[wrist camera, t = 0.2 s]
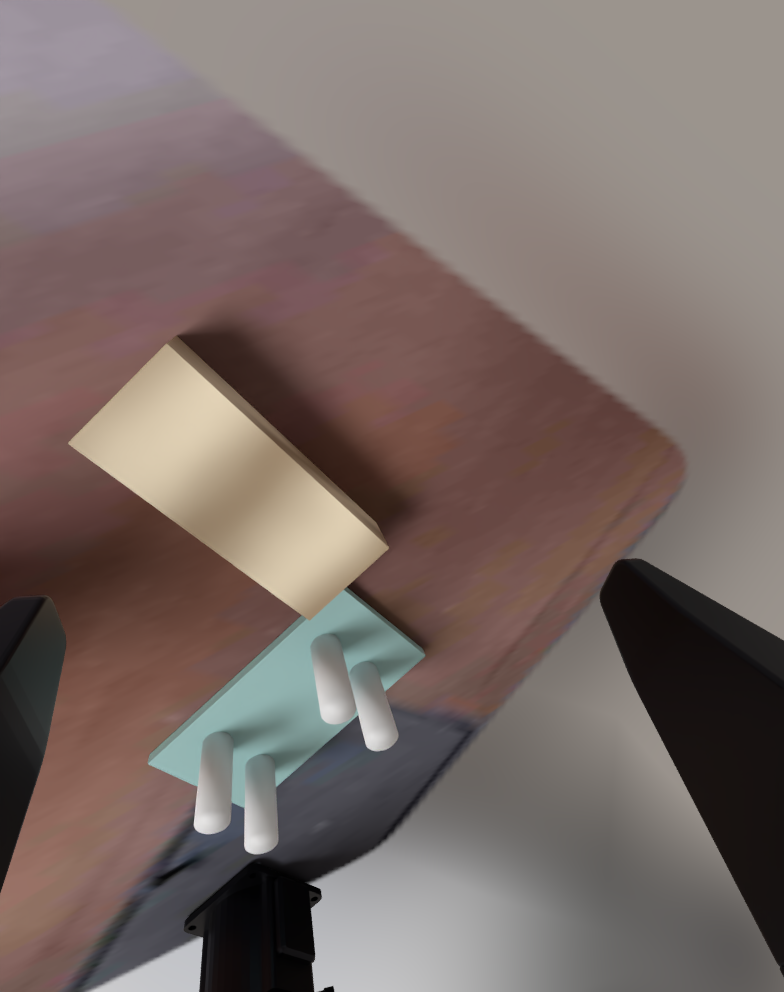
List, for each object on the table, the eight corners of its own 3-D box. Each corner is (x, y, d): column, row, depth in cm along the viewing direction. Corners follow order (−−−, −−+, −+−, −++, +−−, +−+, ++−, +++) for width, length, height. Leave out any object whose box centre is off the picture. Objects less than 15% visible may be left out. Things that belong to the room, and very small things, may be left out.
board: (374, 519, 25) (389, 547, 23) (303, 585, 26) (309, 620, 23) (177, 334, 20) (166, 343, 17) (91, 421, 20) (67, 443, 18)
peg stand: (249, 801, 30) (249, 891, 26) (149, 754, 27) (129, 848, 23) (422, 648, 29) (453, 716, 24) (339, 581, 26) (357, 644, 21)
